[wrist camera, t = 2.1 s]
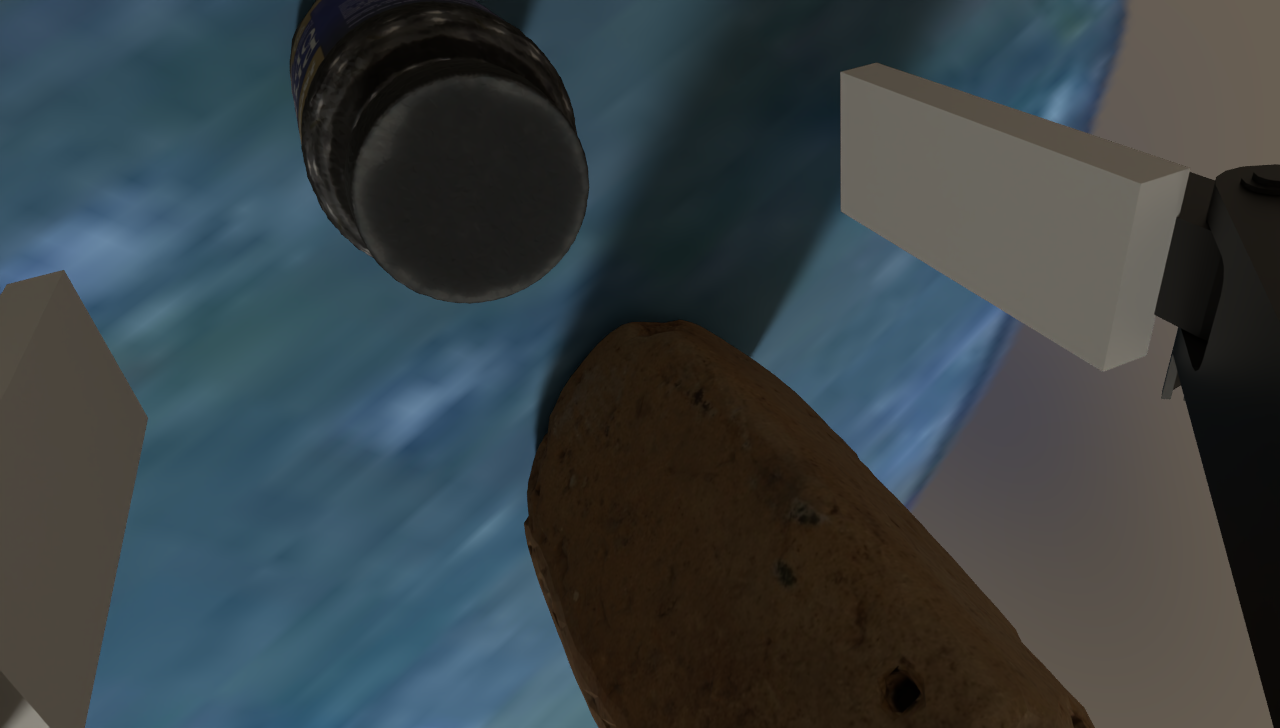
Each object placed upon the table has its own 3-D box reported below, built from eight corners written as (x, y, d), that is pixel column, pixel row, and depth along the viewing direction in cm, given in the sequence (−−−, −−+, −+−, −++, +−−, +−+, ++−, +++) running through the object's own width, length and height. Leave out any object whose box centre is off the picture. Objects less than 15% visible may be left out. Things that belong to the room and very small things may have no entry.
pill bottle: (253, -7, 23) (249, 77, 14) (469, -60, 24) (590, -13, 15) (336, 203, 26) (376, 376, 18) (523, 147, 28) (647, 282, 19)
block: (642, 268, 32) (1042, 692, 15) (768, 356, 36) (1183, 760, 20) (473, 486, 34) (671, 1064, 17) (611, 545, 38) (873, 1052, 22)
